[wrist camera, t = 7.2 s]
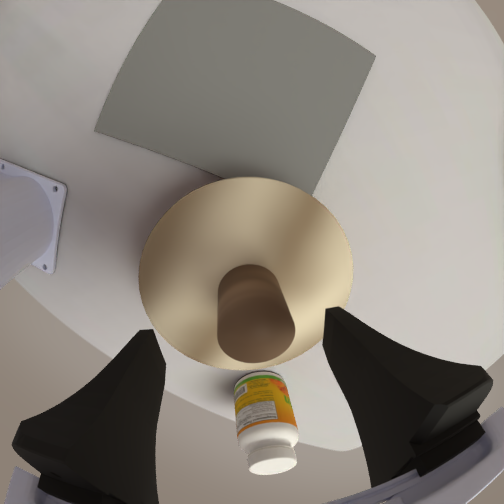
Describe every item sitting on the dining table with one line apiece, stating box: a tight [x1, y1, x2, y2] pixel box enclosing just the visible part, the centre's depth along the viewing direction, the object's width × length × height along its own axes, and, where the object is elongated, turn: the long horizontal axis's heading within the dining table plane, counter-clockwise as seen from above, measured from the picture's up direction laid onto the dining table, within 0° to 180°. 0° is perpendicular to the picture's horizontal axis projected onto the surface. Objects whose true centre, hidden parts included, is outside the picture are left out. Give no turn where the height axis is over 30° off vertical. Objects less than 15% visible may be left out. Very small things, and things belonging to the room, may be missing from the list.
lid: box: [139, 177, 353, 370], centre depth 14 cm, size 13×13×5 cm
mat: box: [94, 0, 376, 196], centre depth 15 cm, size 16×14×1 cm
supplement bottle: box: [234, 372, 299, 475], centre depth 21 cm, size 5×5×10 cm
